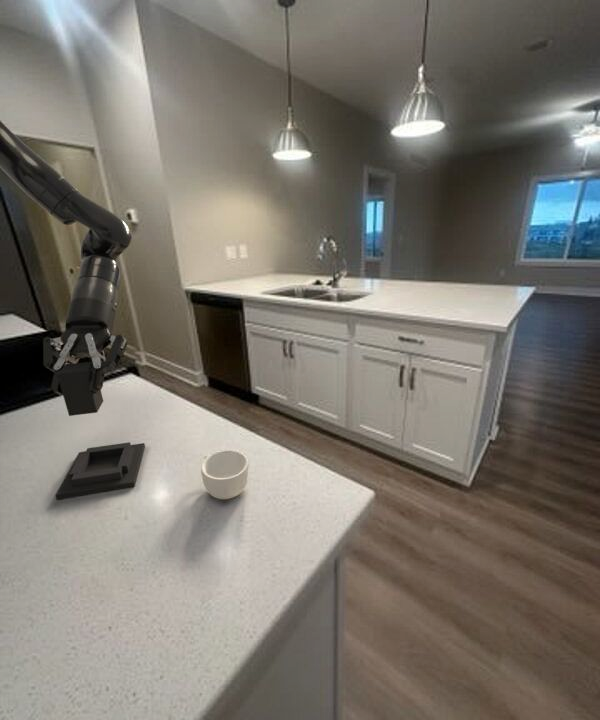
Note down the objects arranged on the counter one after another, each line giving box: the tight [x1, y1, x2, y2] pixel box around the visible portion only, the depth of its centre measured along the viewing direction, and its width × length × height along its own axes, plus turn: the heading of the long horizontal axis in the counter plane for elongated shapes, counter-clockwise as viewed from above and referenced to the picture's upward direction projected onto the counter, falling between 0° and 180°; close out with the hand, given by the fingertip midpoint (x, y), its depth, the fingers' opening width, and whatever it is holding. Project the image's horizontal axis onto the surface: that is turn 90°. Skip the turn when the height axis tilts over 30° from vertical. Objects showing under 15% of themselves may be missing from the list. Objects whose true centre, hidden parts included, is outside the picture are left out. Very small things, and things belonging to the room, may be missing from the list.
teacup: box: [200, 449, 250, 500], centre depth 59 cm, size 10×8×5 cm
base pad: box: [55, 442, 146, 501], centre depth 63 cm, size 12×12×2 cm
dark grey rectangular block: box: [57, 361, 104, 417], centre depth 60 cm, size 4×4×8 cm
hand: (76, 392), depth 58 cm, fingers closed on dark grey rectangular block, 5 cm apart
